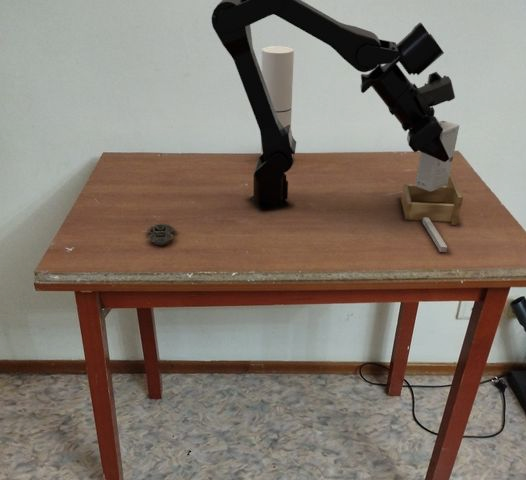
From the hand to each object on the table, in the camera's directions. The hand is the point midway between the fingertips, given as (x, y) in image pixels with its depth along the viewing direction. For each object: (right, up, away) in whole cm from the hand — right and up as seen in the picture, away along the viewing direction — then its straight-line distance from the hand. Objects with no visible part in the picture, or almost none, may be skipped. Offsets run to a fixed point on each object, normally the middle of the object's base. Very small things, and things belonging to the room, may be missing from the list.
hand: (444, 153), depth 118 cm
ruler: (-3, -17, -2) cm, 17 cm away
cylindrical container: (-33, +8, +30) cm, 45 cm away
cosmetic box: (-1, -5, +4) cm, 7 cm away
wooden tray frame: (-1, -9, +8) cm, 12 cm away
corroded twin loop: (-56, -17, -3) cm, 58 cm away
